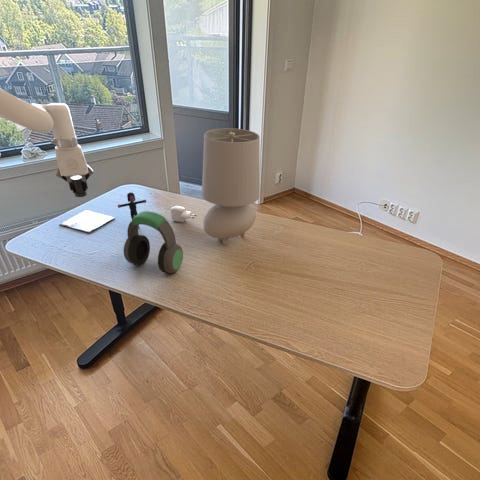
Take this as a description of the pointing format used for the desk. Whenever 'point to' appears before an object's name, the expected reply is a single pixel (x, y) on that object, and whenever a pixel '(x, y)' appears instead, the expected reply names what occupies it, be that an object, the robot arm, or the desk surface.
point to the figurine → (132, 204)
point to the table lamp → (230, 181)
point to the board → (87, 221)
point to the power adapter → (180, 214)
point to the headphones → (140, 246)
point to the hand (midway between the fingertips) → (79, 190)
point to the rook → (78, 186)
